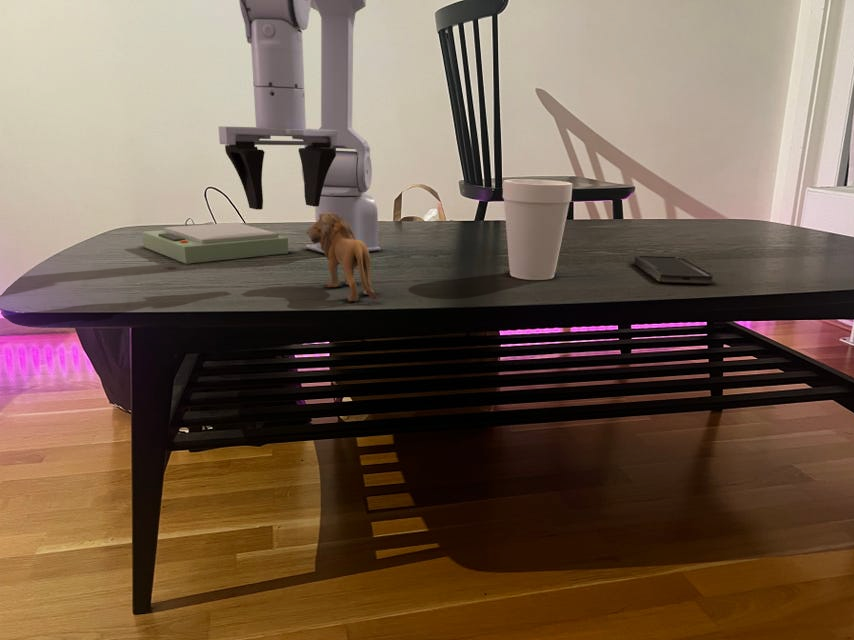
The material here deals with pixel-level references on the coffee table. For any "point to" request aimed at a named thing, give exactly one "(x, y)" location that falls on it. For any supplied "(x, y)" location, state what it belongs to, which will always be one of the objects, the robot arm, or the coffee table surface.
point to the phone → (673, 270)
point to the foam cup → (535, 225)
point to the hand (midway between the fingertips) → (285, 207)
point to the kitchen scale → (214, 242)
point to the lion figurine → (342, 252)
